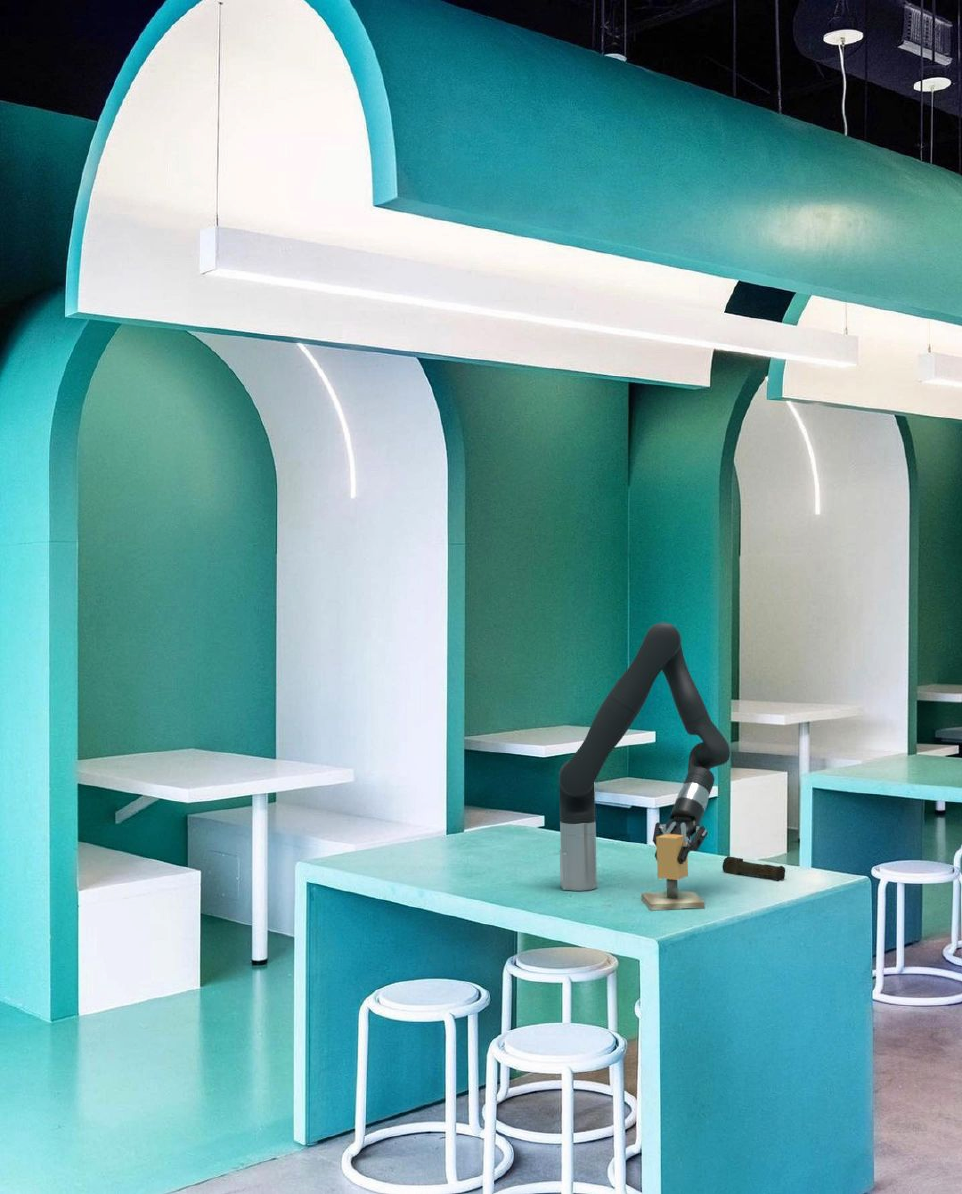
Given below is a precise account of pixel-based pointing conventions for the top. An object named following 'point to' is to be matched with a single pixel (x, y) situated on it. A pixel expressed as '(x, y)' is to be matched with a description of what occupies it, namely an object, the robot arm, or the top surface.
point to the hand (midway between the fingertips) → (668, 861)
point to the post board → (672, 898)
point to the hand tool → (752, 868)
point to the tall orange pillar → (670, 857)
